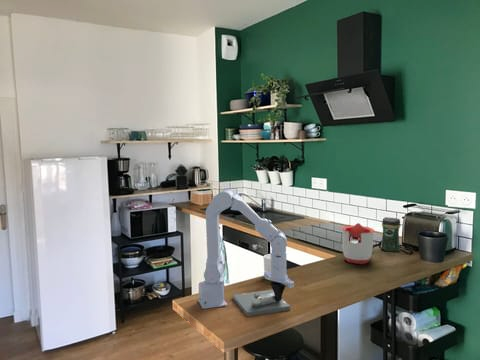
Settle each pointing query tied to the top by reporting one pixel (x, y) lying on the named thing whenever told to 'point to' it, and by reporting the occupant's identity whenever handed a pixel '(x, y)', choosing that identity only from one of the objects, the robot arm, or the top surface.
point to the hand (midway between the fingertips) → (278, 300)
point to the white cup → (267, 264)
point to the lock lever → (263, 300)
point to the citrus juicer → (357, 243)
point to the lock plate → (246, 306)
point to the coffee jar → (390, 234)
